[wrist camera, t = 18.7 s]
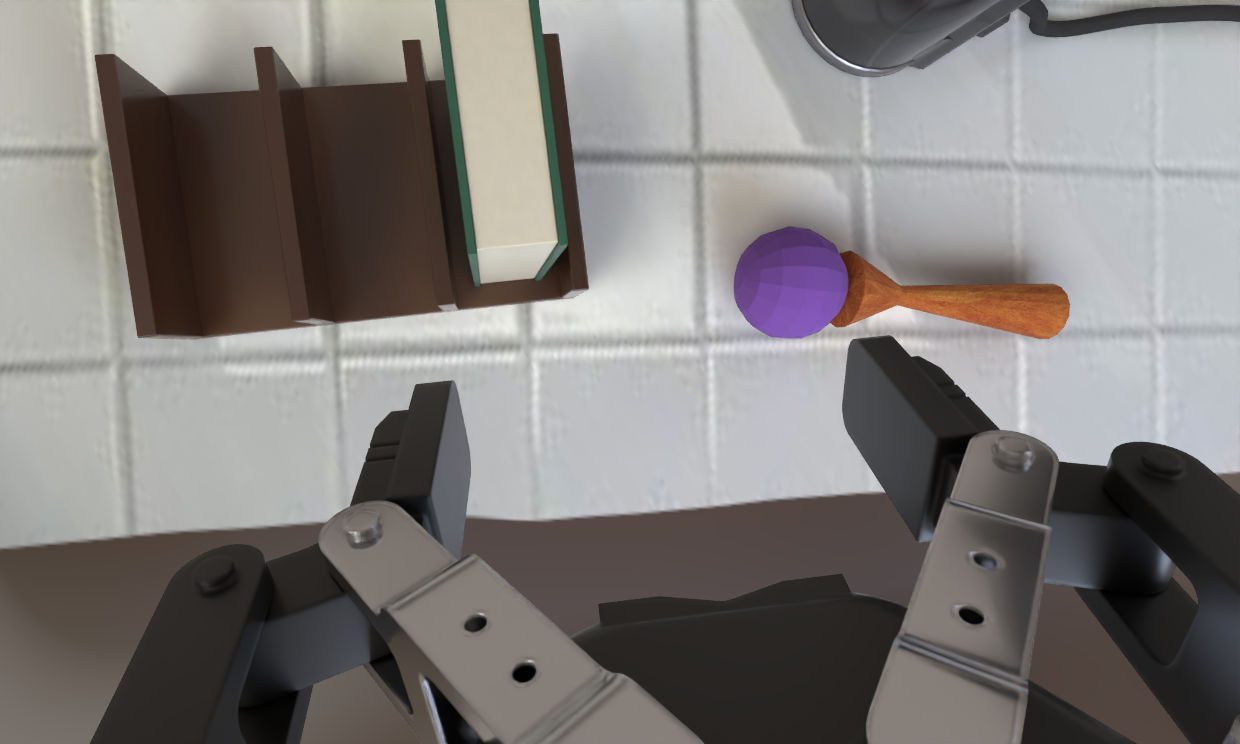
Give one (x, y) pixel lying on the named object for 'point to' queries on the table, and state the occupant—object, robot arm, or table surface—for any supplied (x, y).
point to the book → (503, 137)
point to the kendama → (871, 292)
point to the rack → (305, 202)
